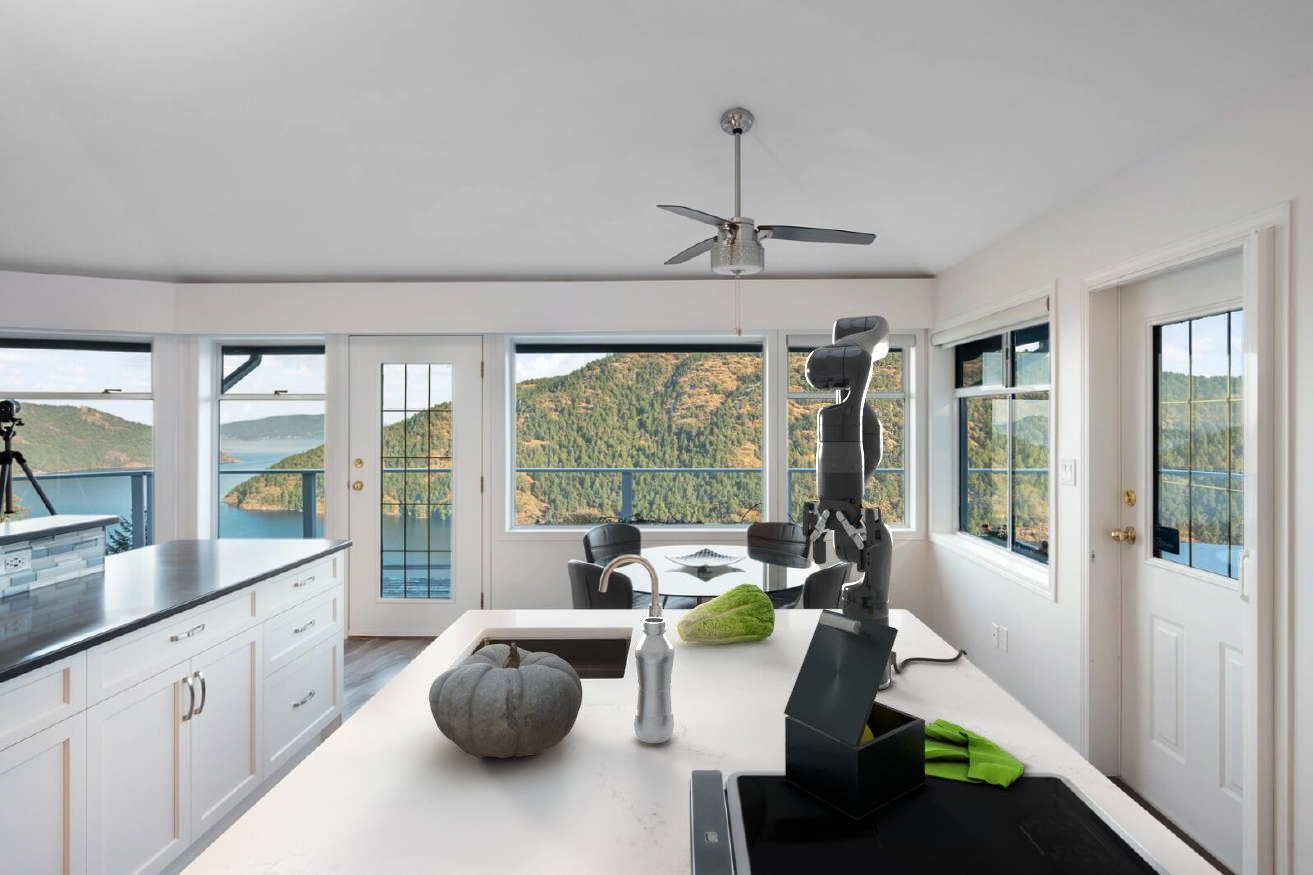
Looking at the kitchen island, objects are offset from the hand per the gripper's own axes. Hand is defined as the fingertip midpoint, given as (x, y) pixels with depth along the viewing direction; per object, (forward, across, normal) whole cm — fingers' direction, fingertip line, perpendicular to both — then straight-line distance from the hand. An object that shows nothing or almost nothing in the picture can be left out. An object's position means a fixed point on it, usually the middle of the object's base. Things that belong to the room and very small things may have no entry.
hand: (840, 567), depth 108 cm
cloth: (+29, -12, -12) cm, 34 cm away
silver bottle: (+29, +20, +24) cm, 43 cm away
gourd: (+29, +34, +44) cm, 62 cm away
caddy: (+29, -9, +9) cm, 32 cm away
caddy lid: (+12, -9, +12) cm, 19 cm away
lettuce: (+30, +52, -21) cm, 64 cm away
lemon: (+28, -9, +6) cm, 30 cm away
